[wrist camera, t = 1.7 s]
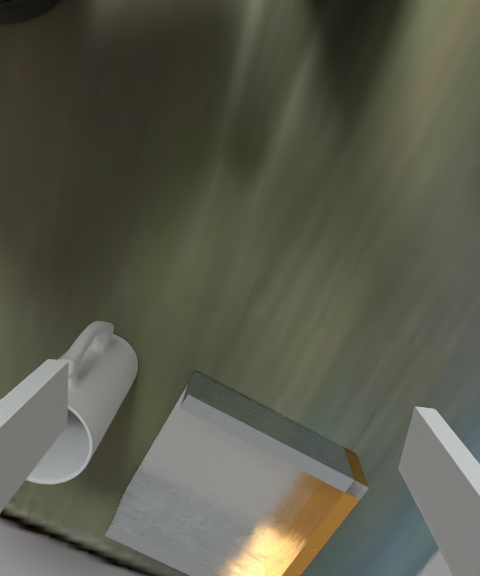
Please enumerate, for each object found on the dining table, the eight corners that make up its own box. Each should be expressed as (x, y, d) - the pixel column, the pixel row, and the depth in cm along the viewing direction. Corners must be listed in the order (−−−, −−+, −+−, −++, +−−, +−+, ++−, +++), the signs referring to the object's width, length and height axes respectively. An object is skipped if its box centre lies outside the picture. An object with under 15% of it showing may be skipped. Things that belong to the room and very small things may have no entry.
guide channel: (119, 499, 42) (104, 535, 37) (195, 370, 38) (188, 394, 33) (269, 570, 44) (270, 613, 39) (356, 454, 40) (369, 487, 35)
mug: (131, 403, 39) (79, 496, 27) (64, 382, 39) (-18, 467, 27) (159, 310, 36) (115, 369, 25) (88, 286, 36) (9, 335, 25)
